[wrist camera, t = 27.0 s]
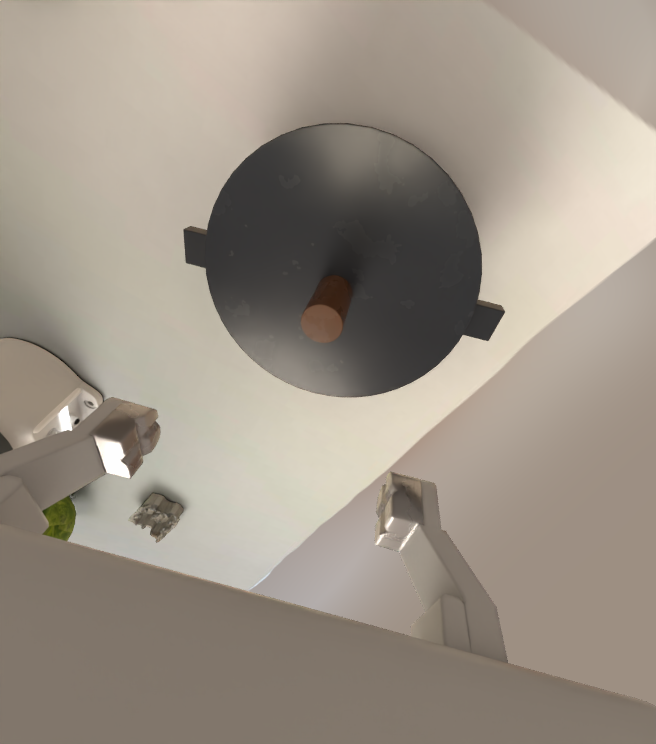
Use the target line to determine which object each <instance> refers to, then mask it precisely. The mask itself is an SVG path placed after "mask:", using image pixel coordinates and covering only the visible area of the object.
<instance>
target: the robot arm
mask: <svg viewBox="0 0 656 744" xmlns="http://www.w3.org/2000/svg"><path fill="white" fill-rule="evenodd" d="M157 418H158V413H157V410H155V409H152V408H148V407H145V406H142V405H138V404H135V403H131V402H128V401H124V400H121V399H117V398H114V397H111V398H109V399H107V400H105V401H104V402H103V398H102V396H101V394H100V393H99V392H98V391H97V390H95V389H94V388H92V387H91V386H89V385H88V384H86V383H85V382H83V381H82V380H81V379H80V378H79V377H78V376H77V375H76V374H75V373H74V372H73V371H72V370H71V369H70V368H69V367H68V366H67V365H66V364H64V363H63V362H62V361H61V360H59V359H58V358H57V357H55V356H54V355H52V354H51V353H49V352H48V351H46V350H44V349H42V348H40V347H38V346H36V345H34V344H32V343H29V342H26V341H23V340H19V339H13V338H3V339H0V744H656V706H654V705H653V704H650V703H648V702H646V701H643V700H640V699H637V698H633V697H630V696H626V695H622V694H618V693H615V692H611V691H607V690H603V689H600V688H596V687H592V686H588V685H585V684H582V683H578V682H575V681H571V680H567V679H564V678H560V677H557V676H552V675H549V674H546V673H542V672H538V671H535V670H531V669H527V668H524V667H520V666H517V665H513V664H509V663H508V660H507V656H506V651H505V646H504V641H503V636H502V632H501V627H500V622H499V617H498V612H497V607H496V606H495V604H494V603H493V601H492V600H491V598H490V597H489V595H488V594H487V592H486V591H485V589H484V588H483V586H482V585H481V583H480V582H479V580H478V579H477V577H476V576H475V574H474V573H473V571H472V570H471V568H470V567H469V565H468V564H467V562H466V561H465V559H464V558H463V556H462V555H461V553H460V552H459V550H458V549H457V547H456V546H455V544H454V543H453V541H452V540H451V538H450V537H449V535H448V534H447V532H446V531H443V530H441V524H440V515H439V506H438V497H437V489H436V485H435V484H434V483H432V482H428V481H425V480H421V479H418V478H414V477H410V476H406V475H402V474H398V473H394V472H390V473H389V474H388V475H387V477H386V484H385V485H383V486H382V487H381V490H380V492H379V496H378V500H377V508H376V513H377V515H378V517H379V520H378V522H377V523H376V525H375V545H377V546H380V547H384V548H387V549H390V550H394V551H397V552H400V553H399V554H400V556H401V559H402V561H403V563H404V566H405V568H406V570H407V572H408V574H409V577H410V579H411V581H412V583H413V585H414V588H415V590H416V592H417V595H418V597H419V599H420V601H421V603H422V606H423V608H424V610H425V613H424V614H423V615H422V616H421V617H420V618H419V619H417V620H416V621H415V622H414V623H413V624H412V625H411V626H410V628H411V636H408V635H405V634H401V633H397V632H393V631H390V630H387V629H383V628H379V627H375V626H372V625H368V624H365V623H361V622H358V621H354V620H350V619H346V618H343V617H339V616H336V615H332V614H328V613H325V612H321V611H318V610H314V609H310V608H307V607H303V606H300V605H296V604H292V603H289V602H285V601H282V600H278V599H274V598H271V597H267V596H264V595H260V594H256V593H253V592H249V591H245V590H242V589H238V588H235V587H231V586H227V585H224V584H220V583H216V582H213V581H209V580H206V579H202V578H198V577H195V576H191V575H187V574H184V573H180V572H177V571H173V570H169V569H166V568H162V567H158V566H155V565H151V564H148V563H144V562H140V561H137V560H133V559H129V558H126V557H122V556H119V555H115V554H111V553H108V552H104V551H100V550H97V549H93V548H90V547H86V546H82V545H79V544H75V543H71V542H68V541H64V540H61V539H57V538H53V537H50V536H46V535H42V534H43V533H44V532H45V530H46V529H47V528H48V527H49V522H48V520H47V519H46V517H45V515H44V514H43V512H42V511H43V510H44V509H46V508H48V507H50V506H51V505H53V504H55V503H56V502H58V501H60V500H62V499H63V498H65V497H67V496H69V495H70V494H72V493H74V492H75V491H77V490H79V489H81V488H82V487H84V486H86V485H87V484H89V483H91V482H93V481H94V480H96V479H98V478H100V477H101V476H103V475H105V474H106V473H110V474H114V475H118V476H122V477H126V478H130V479H131V477H132V476H133V475H134V474H135V472H136V471H137V470H138V468H139V467H140V466H141V465H142V463H143V456H144V455H146V454H148V453H150V452H152V450H153V449H154V448H155V446H156V445H157V442H158V440H159V438H160V426H159V425H158V423H157V422H156V421H155V420H156V419H157Z"/></svg>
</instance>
